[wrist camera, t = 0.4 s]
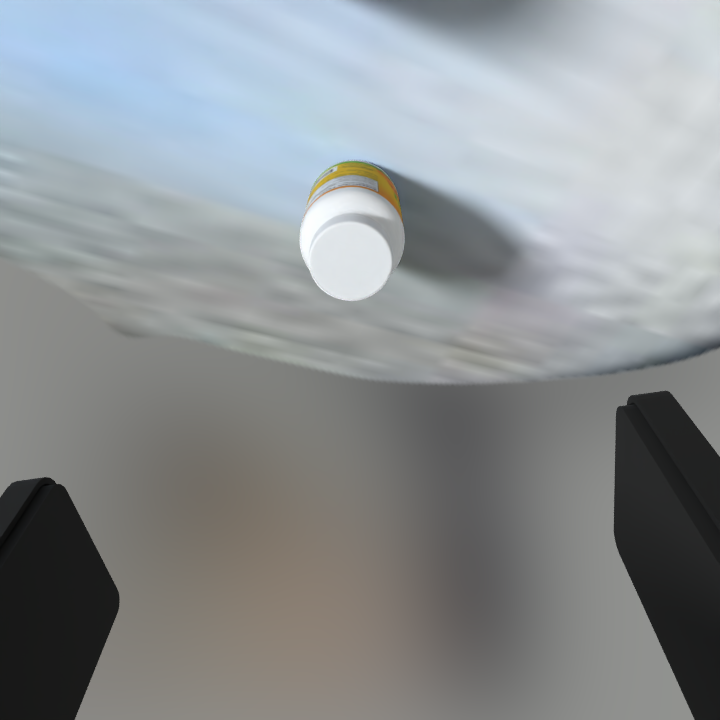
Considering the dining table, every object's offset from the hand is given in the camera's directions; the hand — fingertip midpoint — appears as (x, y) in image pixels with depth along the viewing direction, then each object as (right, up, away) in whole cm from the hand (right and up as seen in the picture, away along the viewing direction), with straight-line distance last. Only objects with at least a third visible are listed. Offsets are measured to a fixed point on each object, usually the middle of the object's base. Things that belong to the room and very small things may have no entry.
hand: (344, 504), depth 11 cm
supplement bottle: (0, +12, +28) cm, 30 cm away
